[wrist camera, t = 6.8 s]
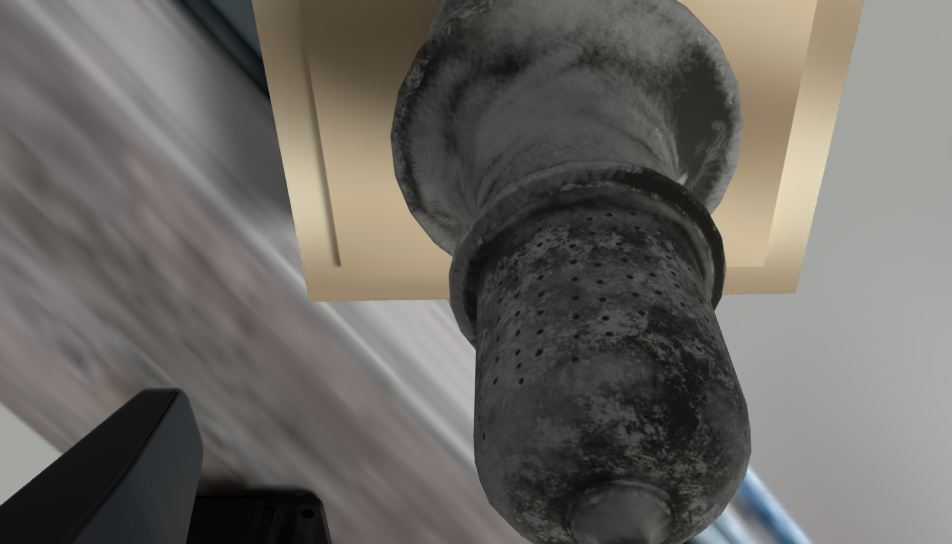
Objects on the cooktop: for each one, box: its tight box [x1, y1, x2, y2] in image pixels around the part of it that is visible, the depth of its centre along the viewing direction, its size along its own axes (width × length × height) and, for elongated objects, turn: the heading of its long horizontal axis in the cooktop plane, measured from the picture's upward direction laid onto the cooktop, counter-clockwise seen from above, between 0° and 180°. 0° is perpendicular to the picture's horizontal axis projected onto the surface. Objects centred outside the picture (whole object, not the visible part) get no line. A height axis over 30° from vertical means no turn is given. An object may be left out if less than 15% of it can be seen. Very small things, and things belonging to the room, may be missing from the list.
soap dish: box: [252, 0, 864, 302], centre depth 18 cm, size 12×12×3 cm
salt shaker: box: [390, 0, 751, 544], centre depth 12 cm, size 6×6×12 cm
